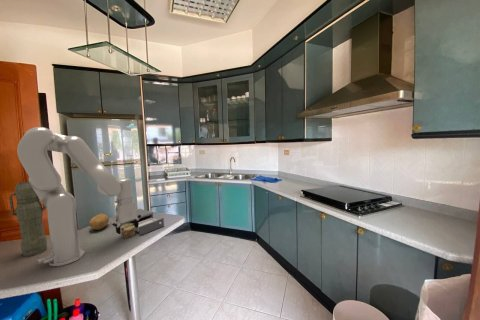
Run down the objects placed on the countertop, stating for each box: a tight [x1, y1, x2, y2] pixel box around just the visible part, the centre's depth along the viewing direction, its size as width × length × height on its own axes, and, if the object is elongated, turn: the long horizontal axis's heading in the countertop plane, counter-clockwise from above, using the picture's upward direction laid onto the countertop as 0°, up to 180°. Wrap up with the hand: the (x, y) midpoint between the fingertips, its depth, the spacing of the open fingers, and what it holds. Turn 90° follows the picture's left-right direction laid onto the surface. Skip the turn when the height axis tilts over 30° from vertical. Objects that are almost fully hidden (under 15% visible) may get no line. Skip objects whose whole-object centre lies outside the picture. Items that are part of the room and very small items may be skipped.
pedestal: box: [120, 228, 136, 239], centre depth 115 cm, size 5×5×4 cm
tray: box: [135, 217, 165, 236], centre depth 125 cm, size 15×16×5 cm
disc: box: [120, 223, 135, 232], centre depth 115 cm, size 7×7×2 cm
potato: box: [88, 213, 110, 231], centre depth 126 cm, size 10×14×8 cm
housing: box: [115, 208, 154, 227], centre depth 132 cm, size 16×16×6 cm
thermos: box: [8, 180, 48, 257], centre depth 100 cm, size 9×12×35 cm
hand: (127, 230), depth 115 cm, fingers open, 9 cm apart
